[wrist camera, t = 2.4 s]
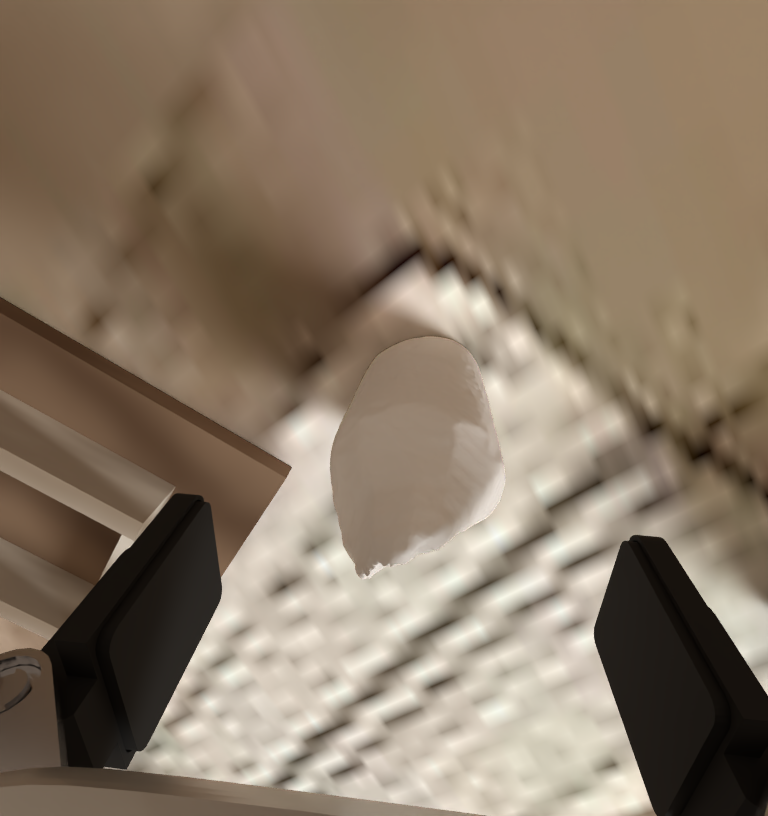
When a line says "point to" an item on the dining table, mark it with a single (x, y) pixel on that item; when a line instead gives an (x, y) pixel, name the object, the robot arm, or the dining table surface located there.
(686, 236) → the dining table surface
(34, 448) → the stand
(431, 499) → the roll
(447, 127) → the dining table surface
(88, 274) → the dining table surface
